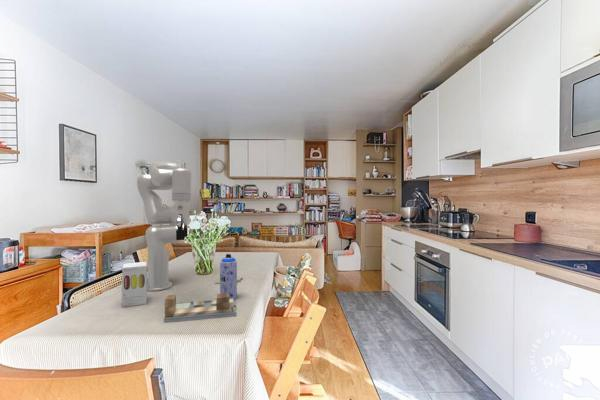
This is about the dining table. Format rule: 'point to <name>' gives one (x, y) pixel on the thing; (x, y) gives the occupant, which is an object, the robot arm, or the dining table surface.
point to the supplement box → (134, 284)
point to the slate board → (202, 316)
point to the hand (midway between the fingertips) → (182, 238)
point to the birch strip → (189, 309)
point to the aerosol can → (228, 276)
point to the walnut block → (222, 301)
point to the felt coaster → (183, 305)
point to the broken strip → (213, 303)
